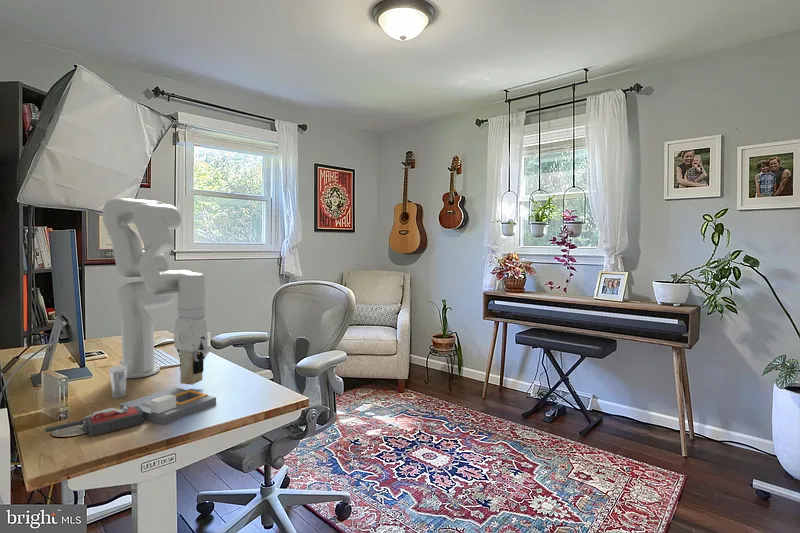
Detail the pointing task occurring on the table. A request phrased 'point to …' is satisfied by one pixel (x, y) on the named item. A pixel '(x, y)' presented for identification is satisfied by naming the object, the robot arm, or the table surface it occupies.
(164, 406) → the block
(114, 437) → the table surface
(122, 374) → the milkshake
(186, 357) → the box
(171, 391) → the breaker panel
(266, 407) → the table surface
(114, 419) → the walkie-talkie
